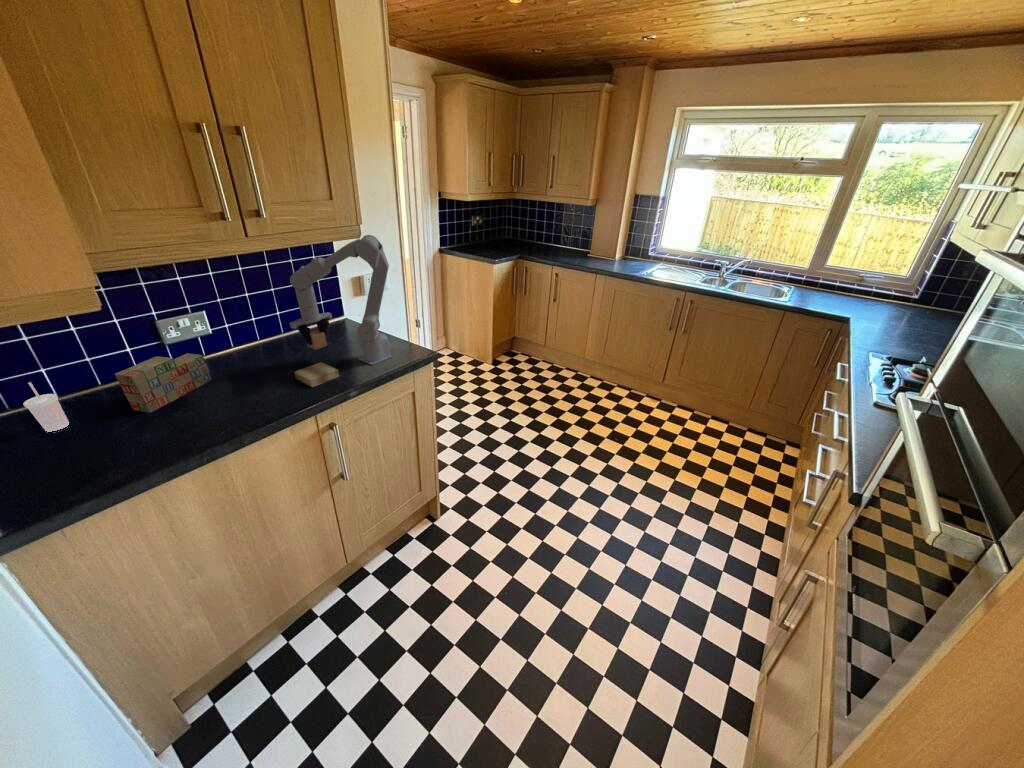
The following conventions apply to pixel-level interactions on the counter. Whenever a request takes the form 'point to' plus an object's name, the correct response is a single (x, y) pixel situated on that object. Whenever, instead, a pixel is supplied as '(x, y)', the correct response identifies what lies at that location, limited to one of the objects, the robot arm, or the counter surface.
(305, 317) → the robot arm
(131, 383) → the stack of blocks
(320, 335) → the brown cube
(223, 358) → the counter surface
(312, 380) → the oak block
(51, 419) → the beverage cup
